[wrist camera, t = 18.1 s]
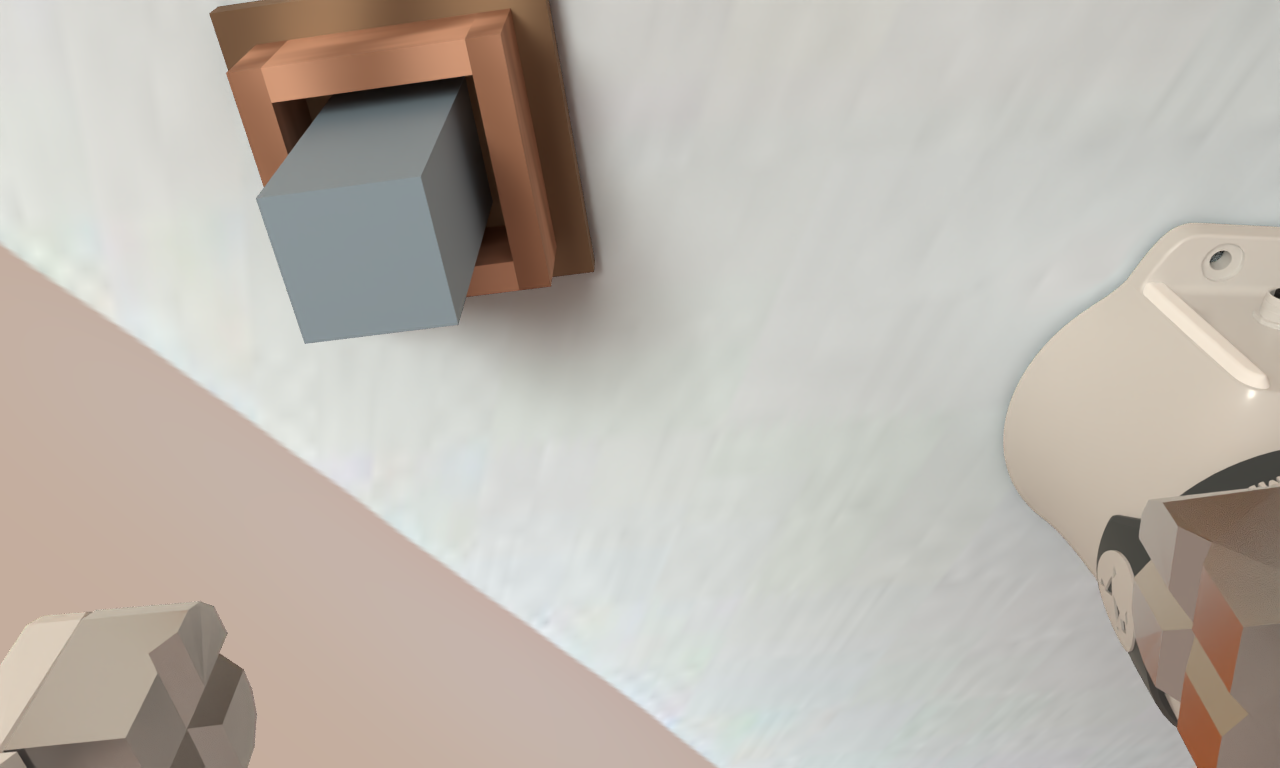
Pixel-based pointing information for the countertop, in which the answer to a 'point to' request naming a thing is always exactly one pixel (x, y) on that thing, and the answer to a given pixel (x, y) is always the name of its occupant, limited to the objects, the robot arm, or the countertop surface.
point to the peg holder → (417, 52)
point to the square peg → (381, 211)
